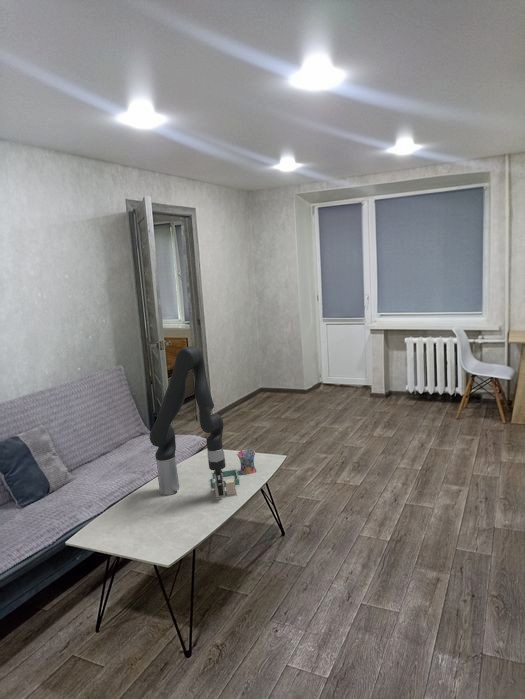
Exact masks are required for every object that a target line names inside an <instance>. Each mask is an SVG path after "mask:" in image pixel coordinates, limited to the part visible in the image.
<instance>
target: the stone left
mask: <svg viewBox="0 0 525 699" xmlns="http://www.w3.org/2000/svg"><path fill="white" fill-rule="evenodd" d="M214 483H215V489H214V490H215V492H216V497H222V496H219V494H218V488H217V483H216V481H214ZM219 485H221V483H219V484H218V486H219ZM225 491H226V490H225V487H224V483H223V494H224V495H223V496H225Z"/></svg>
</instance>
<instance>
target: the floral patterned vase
mask: <svg viewBox="0 0 525 699" xmlns="http://www.w3.org/2000/svg"><path fill="white" fill-rule="evenodd" d="M236 455H237V457H238V459H239V463H240V470H239V473H240V474H241V475H250V474H254V473H256V472H257V468H256V467H255V462H254V461H255V455H256V450H253V449H244V450H243V449H242V450H240V451H238V452H237V453H236Z"/></svg>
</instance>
